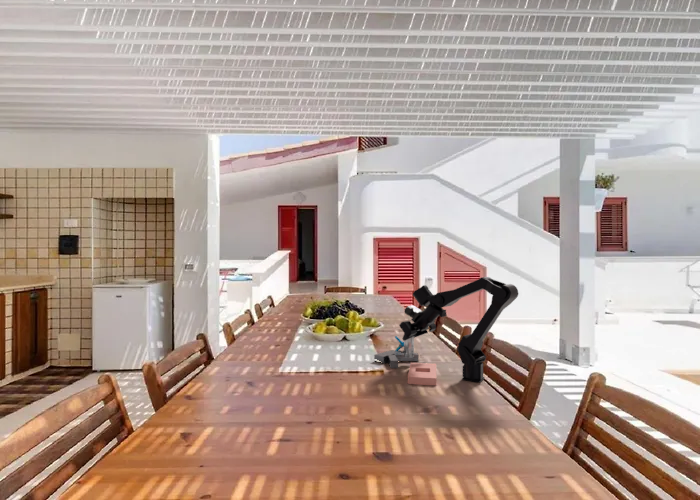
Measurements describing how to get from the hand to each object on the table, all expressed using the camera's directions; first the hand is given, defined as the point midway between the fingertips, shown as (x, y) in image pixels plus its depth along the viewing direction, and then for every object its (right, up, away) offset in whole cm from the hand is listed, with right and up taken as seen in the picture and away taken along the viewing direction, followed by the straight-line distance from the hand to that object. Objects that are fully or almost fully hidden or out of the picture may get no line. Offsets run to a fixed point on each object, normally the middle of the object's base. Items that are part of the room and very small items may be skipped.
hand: (406, 338), depth 185 cm
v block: (-4, -10, +4) cm, 12 cm away
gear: (+1, -11, +22) cm, 25 cm away
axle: (+1, -7, -1) cm, 7 cm away
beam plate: (+4, -11, -17) cm, 21 cm away
